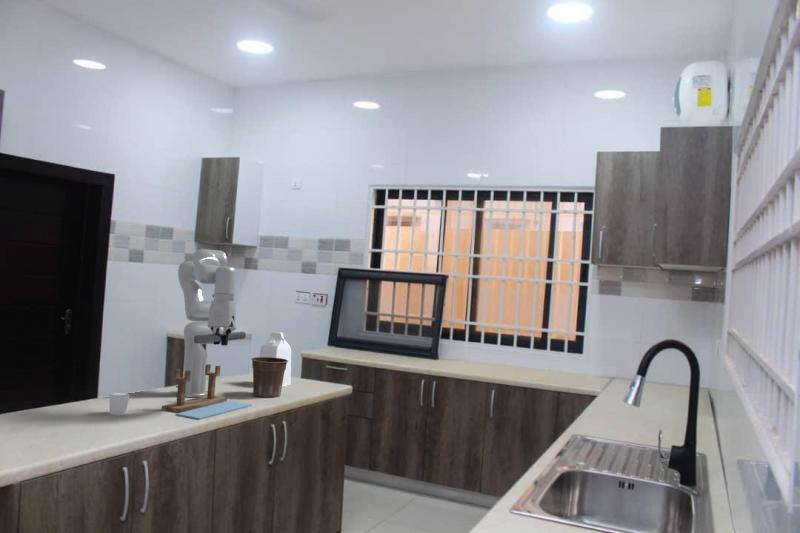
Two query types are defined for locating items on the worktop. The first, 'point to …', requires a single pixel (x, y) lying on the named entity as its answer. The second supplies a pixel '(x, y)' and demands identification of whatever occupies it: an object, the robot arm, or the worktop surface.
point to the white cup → (118, 403)
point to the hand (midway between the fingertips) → (220, 344)
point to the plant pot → (268, 376)
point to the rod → (218, 337)
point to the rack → (197, 402)
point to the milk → (278, 353)
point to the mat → (213, 410)
